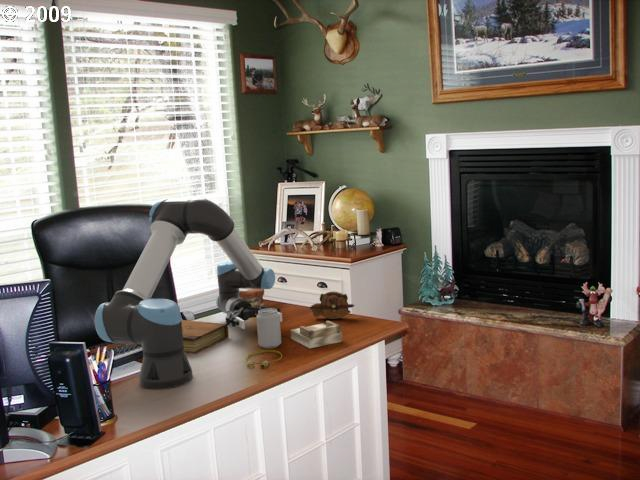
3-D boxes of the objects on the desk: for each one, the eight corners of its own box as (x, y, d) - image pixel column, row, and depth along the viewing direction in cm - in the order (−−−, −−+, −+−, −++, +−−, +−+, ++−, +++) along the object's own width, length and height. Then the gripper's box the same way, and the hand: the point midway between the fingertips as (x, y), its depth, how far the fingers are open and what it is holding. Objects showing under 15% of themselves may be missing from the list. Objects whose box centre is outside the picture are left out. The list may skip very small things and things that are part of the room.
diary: (229, 339, 253) (227, 323, 252) (195, 356, 237) (193, 338, 236) (176, 333, 264) (175, 318, 263) (141, 348, 248) (139, 332, 247)
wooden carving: (310, 321, 268) (308, 294, 266) (311, 317, 272) (309, 291, 270) (355, 319, 266) (353, 293, 264) (355, 316, 270) (354, 290, 268)
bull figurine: (231, 307, 295) (230, 287, 294) (265, 304, 298) (263, 284, 296) (232, 310, 291) (230, 290, 290) (266, 306, 293) (264, 286, 292)
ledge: (309, 348, 235) (308, 331, 234) (291, 338, 247) (290, 322, 246) (342, 341, 240) (341, 325, 239) (322, 332, 252) (321, 316, 252)
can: (254, 346, 241) (251, 311, 239) (271, 340, 246) (269, 306, 244) (268, 350, 235) (265, 314, 233) (286, 345, 240) (283, 309, 238)
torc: (230, 366, 223) (229, 360, 223) (262, 351, 236) (261, 345, 236) (261, 372, 216) (261, 365, 216) (292, 356, 229) (292, 350, 229)
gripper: (271, 313, 270) (296, 325, 251) (207, 325, 259) (228, 339, 240) (270, 293, 269) (295, 304, 250) (205, 304, 258) (226, 316, 239)
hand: (262, 321), depth 245 cm, fingers open, 13 cm apart
